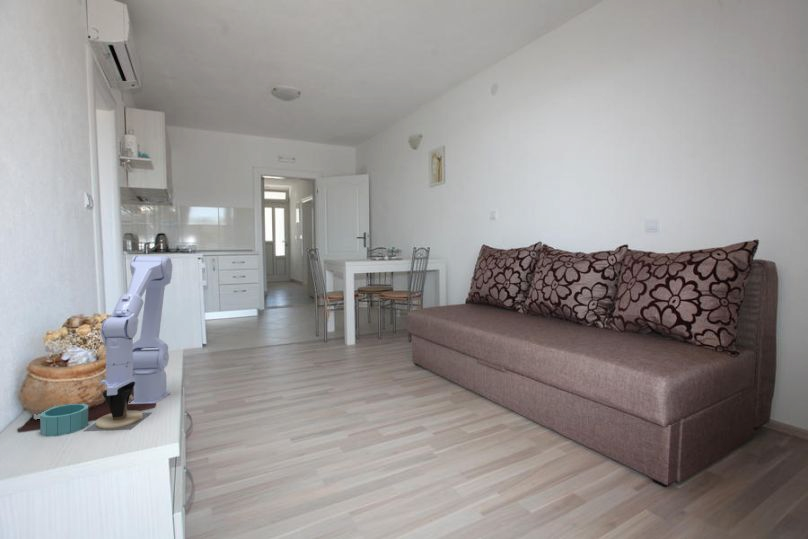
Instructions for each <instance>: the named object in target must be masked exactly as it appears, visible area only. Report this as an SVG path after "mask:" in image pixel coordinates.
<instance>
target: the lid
mask: <svg viewBox="0 0 808 539" xmlns="http://www.w3.org/2000/svg"><path fill="white" fill-rule="evenodd" d="M142 413H143V412H142V411H140V410H135V409H134V410H133V409H132V410H131V409H129V410H128V407H127V401H126V403H125V409H124V414H123V416H122V417H114V418H113V417H112V414H111V412H110V413H107V414H105V415H102V416H100V417H99V418H97V419H96V420H95V423H96V428H99V429H117V428H122V427H126V426H130V425H132V424H135V423H137V422H139V421H140V420H141V419H142V418H143V414H142Z"/></svg>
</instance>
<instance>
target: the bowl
mask: <svg viewBox="0 0 808 539" xmlns="http://www.w3.org/2000/svg"><path fill="white" fill-rule="evenodd" d="M39 421H40V422H39V423H40V426H39V427H40V428H39V429H40V430H39V431H40V435H41V436H44V437H45V436H46V437H57V436H58V437H59V436H63V435H68V434H72V433H75V432H78V431H80V430H84V428H85V429H86V427H87V426H88V424H89V405H88V404H86V403H82V404H68V405H62V406H57V407H54V408H50V409H48V410H46V411H44V412H42V413H41V415H40V420H39Z"/></svg>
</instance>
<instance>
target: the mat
mask: <svg viewBox="0 0 808 539" xmlns="http://www.w3.org/2000/svg"><path fill="white" fill-rule="evenodd" d="M142 414H143V418H142V419H141V420H140V421H139V422H137V423H135V424H132V425H130V426H126V427H122V428H117V429H99V428H96V422H95V423H93V424H92V425H90V426H89V427H87V428H85V429H83V432H102V431H103V432H104V431H105V432H106V431H126V430H127V431H131V430H132V429H134V428H135V427H136V426H138V425H139V424H140V423H141V422H143V421H144V420H145V419H147V418H148V417H149V416H150V415H152V414H153V412H142Z"/></svg>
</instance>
